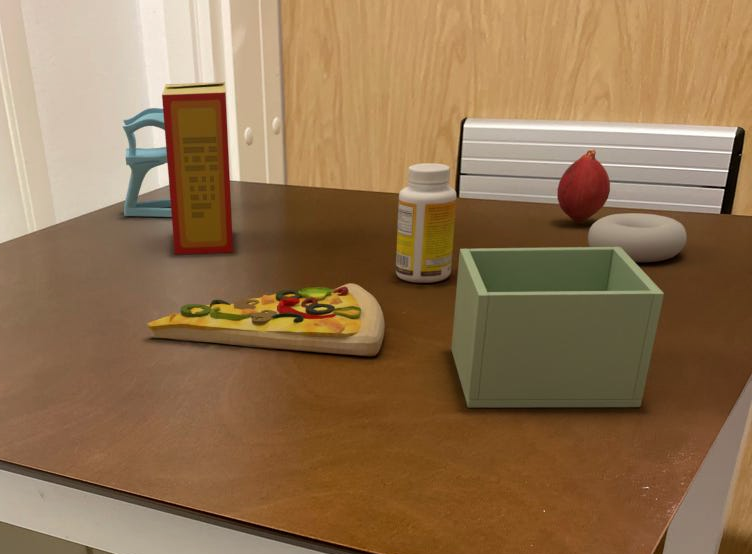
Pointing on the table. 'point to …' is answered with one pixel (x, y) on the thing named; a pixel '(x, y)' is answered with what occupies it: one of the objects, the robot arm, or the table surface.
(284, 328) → the pizza slice
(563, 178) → the onion
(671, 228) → the donut
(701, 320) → the table surface
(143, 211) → the chair
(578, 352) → the trash bin
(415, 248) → the supplement bottle
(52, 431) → the table surface
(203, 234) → the baking soda box
